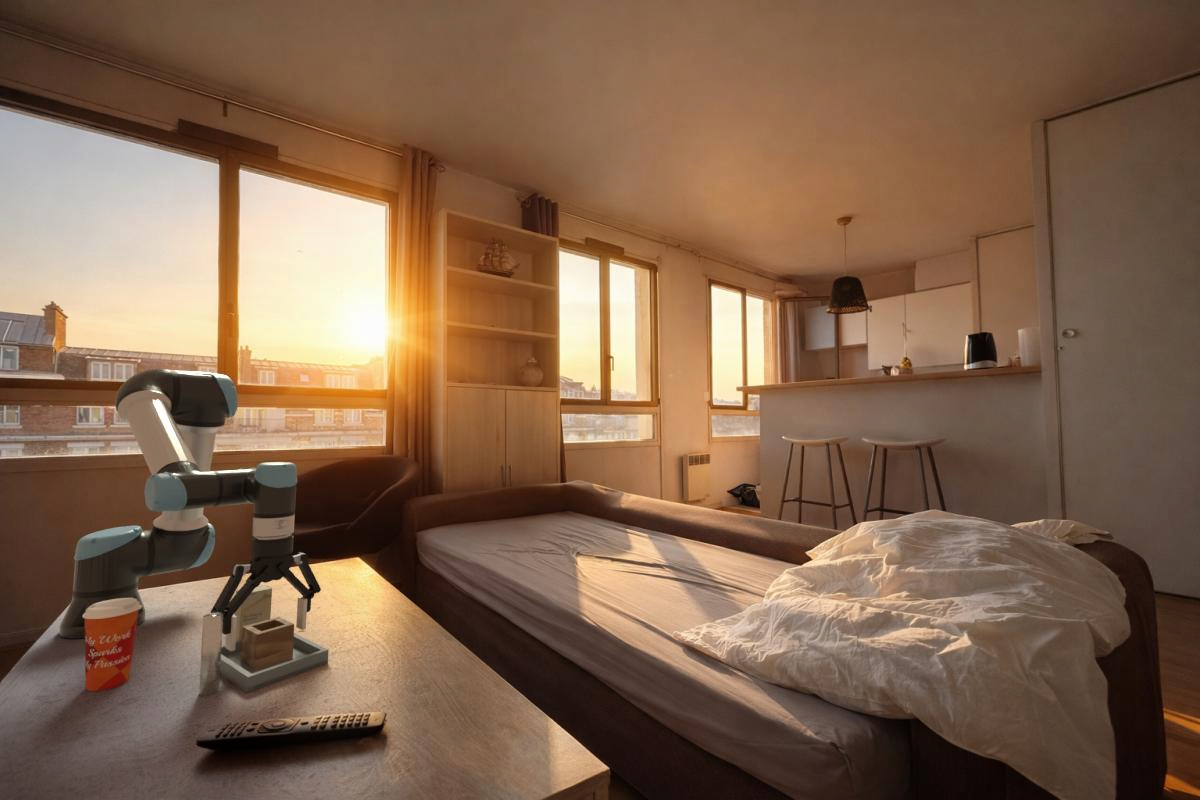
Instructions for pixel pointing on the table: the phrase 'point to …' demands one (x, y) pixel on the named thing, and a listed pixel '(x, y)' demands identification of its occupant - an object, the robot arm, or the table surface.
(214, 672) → the pin
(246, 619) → the skincare box
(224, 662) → the tray
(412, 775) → the table surface
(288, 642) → the bored block
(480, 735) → the table surface
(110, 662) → the coffee cup
